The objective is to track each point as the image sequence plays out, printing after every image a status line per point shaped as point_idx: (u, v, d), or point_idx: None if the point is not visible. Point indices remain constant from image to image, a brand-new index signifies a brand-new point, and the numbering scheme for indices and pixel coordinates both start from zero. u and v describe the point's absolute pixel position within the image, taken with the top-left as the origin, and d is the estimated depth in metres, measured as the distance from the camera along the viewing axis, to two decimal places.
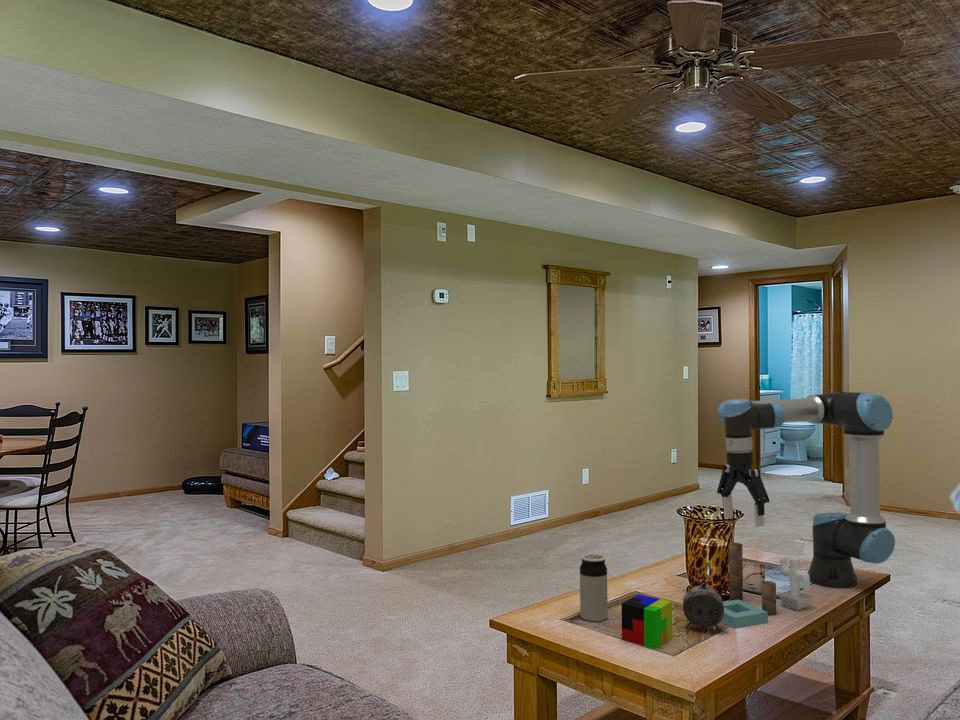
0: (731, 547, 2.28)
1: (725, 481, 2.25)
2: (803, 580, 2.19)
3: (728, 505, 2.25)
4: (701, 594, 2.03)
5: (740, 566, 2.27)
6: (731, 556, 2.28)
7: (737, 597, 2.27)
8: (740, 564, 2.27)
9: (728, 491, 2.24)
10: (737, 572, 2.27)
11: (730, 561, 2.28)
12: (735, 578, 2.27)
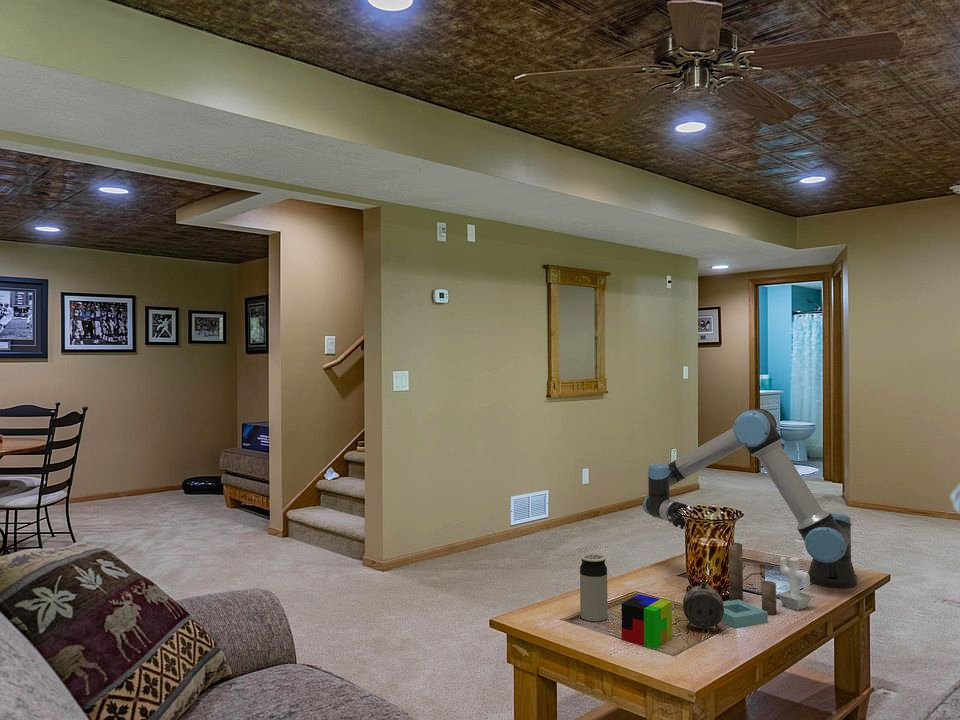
0: (731, 547, 2.28)
1: None
2: (803, 580, 2.19)
3: None
4: (701, 594, 2.03)
5: (740, 566, 2.27)
6: (731, 556, 2.28)
7: (737, 597, 2.27)
8: (740, 564, 2.27)
9: None
10: (737, 572, 2.27)
11: (730, 561, 2.28)
12: (735, 578, 2.27)
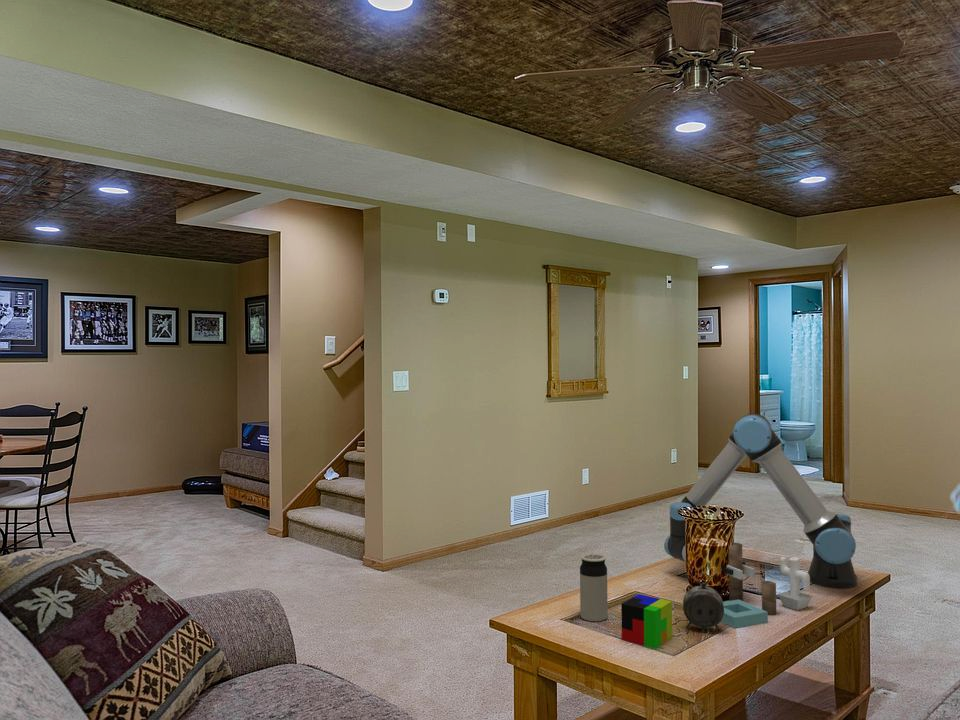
0: (731, 547, 2.28)
1: None
2: (803, 580, 2.19)
3: (744, 570, 2.28)
4: (701, 594, 2.03)
5: (740, 566, 2.27)
6: (731, 556, 2.28)
7: (737, 597, 2.27)
8: (740, 564, 2.27)
9: None
10: None
11: (730, 561, 2.28)
12: (735, 578, 2.27)
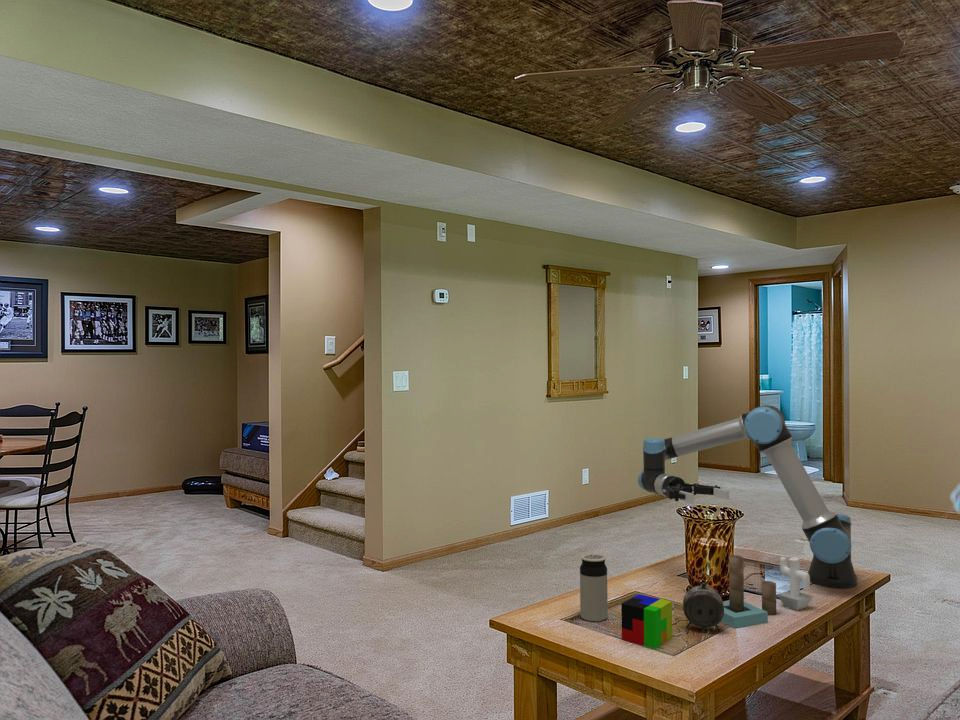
0: (731, 560, 2.13)
1: None
2: (803, 580, 2.19)
3: (718, 493, 2.40)
4: (701, 594, 2.03)
5: (741, 580, 2.12)
6: (731, 570, 2.13)
7: None
8: (741, 578, 2.12)
9: (709, 491, 2.44)
10: (738, 587, 2.12)
11: (730, 575, 2.14)
12: (736, 593, 2.12)
